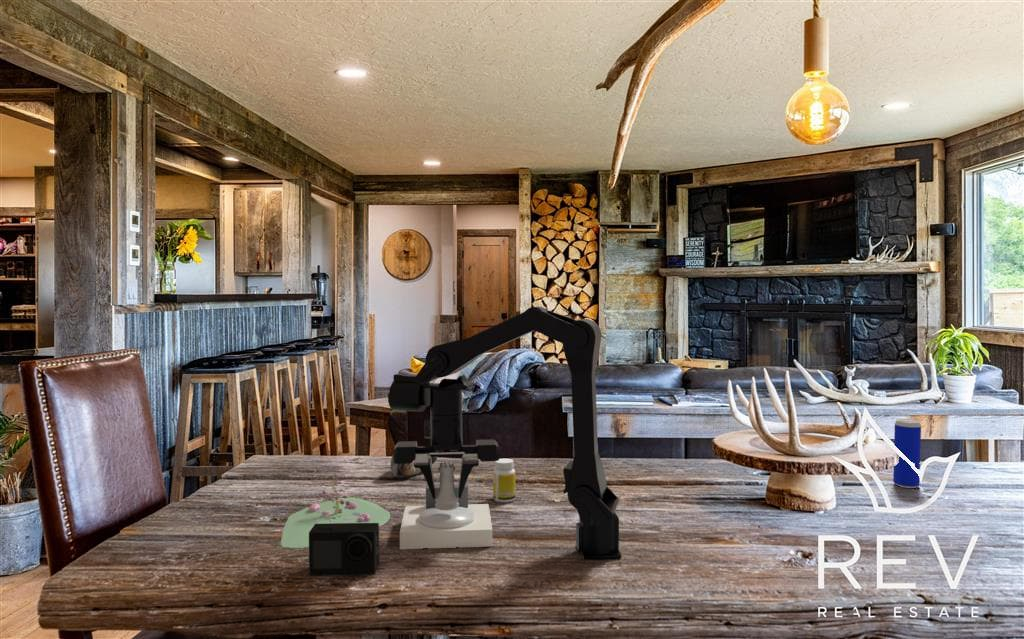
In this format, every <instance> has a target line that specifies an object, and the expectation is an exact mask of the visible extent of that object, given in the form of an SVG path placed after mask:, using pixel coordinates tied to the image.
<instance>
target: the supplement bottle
mask: <svg viewBox="0 0 1024 639" xmlns="http://www.w3.org/2000/svg"><path fill="white" fill-rule="evenodd" d="M514 467H515V464H514V460H513V459H511V458H499V460H498V461H494V469H493V471H492V484H493V485H492V487H493V488H492V493H493V494H492V496H493V497H492V498H493V501H494V502H497V503H511V502H514V501H515V500H516V469H515V468H514Z"/></svg>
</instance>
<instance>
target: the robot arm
mask: <svg viewBox="0 0 1024 639" xmlns="http://www.w3.org/2000/svg"><path fill="white" fill-rule="evenodd" d="M534 331H535V332H537V333H539V334H542V335H544V336H545V337H547V338H549V339H551V340H554V341H555V342H558V343H561V344H562V348H563V352H564V358H565V360H566V362H567V365H568V369H569V372H570V379H571V402H572V403H571V405H572V407H571V409H572V432H573V433H572V434H573V459H572V460H569V462H568V463H567V464H566V465H565V466H564V468H563V472H562V473H563V478H564V484H565V485H564V489H563V491H562V492H563V494H566V493H567V500H568V503H569V504H570V505H571V506H572V507H573V508H574V509H575V510H576V512H577V514H578V517H579V521H578V522H576V524H575V546H576V548H577V550H578V552H580V554H581V556H582V558H583V559H585V560H589V559H590V560H594V559H619V558H622V555H623V554H622V553H621V551H620V518H619V516H618V514H617V513H616V510H617V507H618V504H619V501H620V498H619V497H618V496H617V495H616V494H615V493H614V491H613V490H612V489H611V488H609V486H608V484H607V478H606V474H605V470H604V469H605V468H604V466H603V462H602V460H601V457H600V453H599V444H598V419H597V418H598V416H597V412H598V411H597V387H596V385H597V384H596V370H597V366H598V361H599V357H600V356H599V355H600V350H601V349H600V348H601V341H602V329H601V328H600V326H599V325H598V324H597V323H596V322H595V321H594V320H591V319H589V318H582V319H575V318H572V317H569V316H566V315H563V314H560V313H558V312H553V311H551V310H549V309H547V308H545V307H543V306H532V307H528V308H527V309H526V310H524V311H523V312H521V313H519V314H517V315H514V316H512V317H509V318H508V319H506V320H504V321H501V322H499V323H498V324H495V325H493V326H491V327H488V328H486V329H485V330H482V331H480V332H478V333H476V334H474V335H471V336H469V337H465V338H462V339H457V340H453V341H450V342H444V343H442V344H437V345H433V346H432V347H431V348H429V349H428V350H427V352H426V356H425V363H424V364H423V365H422V367H421V368H420V370H419V371H418V373H417V374H406V373H396V374H394V375H393V381H392V382H391V384H390V387H389V392H388V393H387V403H388V406H389V407H390V410H392V411H396V412H397V411H403V412H418V413H419V412H420V413H422V412H424V411H425V410H426V409H427V407H429V406H430V414H429V415H430V420H424V421H423V422H424V423H423V424H424V425H423V437H424V439H430V445H424V446H421V445H420V446H419V445H418V441H417V440H416V441H415V440H412V441H398V442H397V443H396V444H395V445H394V449H393V454H392V455H393V463H395V464H405V463H412V462H413V461H414V460H415V462H414V467H415V468H420V470H421V472H422V473H421V474H422V475H423V477H424V480H425V481H426V483H427V484H426V485H428V487H429V489H430V492H431V495H432V497H433V499H435V485H436V484H435V477H434V469H433V464H432V458H431V457H437V458H438V457H461V464H460V465H461V466H460V473H459V481H458V484H459V498H461V496H462V493H463V490H464V487H465V484H466V483H467V480H468V478H469V476H470V473H471V472H472V469H473V468H474V467H479V464H480V462H495V461H498V460H499V459H500V455H499V454H500V450H499V449H500V448H499V444H498V441H496V440H495V439H494V438H493V439H492V438H491V439H476V442H475V444H467V445H464V444H463V440H464V439H463V391H466V390H469V389H472V388H473V387H474V384H473V383H472V382H471V381H470V380H469V379H468V378H467V376H466V375H465V374H462V375H459V376H458V377H457V378H444V377H448V376H451V375H454V374H457V373H459V372H461V371H462V370H464V369H465V368H467V367H469V365H471V364H472V363H474V362H475V361H476V360H477V359H479V357H481V356H483V355H484V354H486V353H488V352H490V351H493V350H495V349H498V348H499V347H502V346H503V345H505V344H508V343H510V342H513V341H515V340H517V339H520V338H521V337H523V336H526V335H529V334H530V333H533V332H534ZM442 378H443V379H442ZM437 379H441V380H440V382H439V383H438V382H437V383H436V382H435V383H433V382H431V381H434V380H437ZM479 460H480V462H479Z"/></svg>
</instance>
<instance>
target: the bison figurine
mask: <svg viewBox="0 0 1024 639" xmlns="http://www.w3.org/2000/svg"><path fill="white" fill-rule="evenodd" d="M431 458H432V465H433V464H435V463H436V462H437V460H438V456H437V457H431ZM414 462H415V460H414V461H413V462H412V463H405V464H395V463H393V454H392V456H391V459H390V470H391V473H392V475H393V476H394V477H395V476H396V477H399V476H405V477H406V476H407V477H410V476H416V475H418V474H422V472H421V470H420V468H415V467H414Z"/></svg>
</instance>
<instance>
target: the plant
mask: <svg viewBox="0 0 1024 639" xmlns="http://www.w3.org/2000/svg"><path fill="white" fill-rule="evenodd" d="M333 476H334V478H333V479H332V480H333V482H332V484H330V487H331V486H332V487H331V489H332V490H334V491H333V492H330V494H328V493H327V492H326V491H325V490H322V493H318V497H326V498H329V497H330V498H329V500H328V501H324V502H321V503H311V504H310V505H309V506H307V507H305V508H303V509H301V510H299V511H297V512H294V513H292V514H291V515H288V518H287V521H286V523H285V525H284V526H283V529H282V536H281V538H280V540H281V541H280V546H281V545H282V547H281V548H284V549H285V548H286V549H304V548H305V547H306V548H309V532H310V530H311V529H312V528H313V526H314V525H315V524H328V523H379V527H381V526H383V525H384V524H386V523H387V522H388V521H389V520H390V518H391V513H390V511H387V510H386V509H385V508H383V507H382V506H380V505H379V504H376V503H373V502H371V501H368V500H366V499H362V498H358V497H352V496H351V497H349V496H348V495H342V497H339V495H340V493H341V492H342V491H343V490H344V489H343V488H341V489H337V487H335V486H337V485H341V484H342V482H341V481H342V480H341V479H338V478H336V477H337V476H338V475H337V474H333ZM336 481H338V482H336ZM338 491H339V492H340V493H339V492H338ZM334 494H335V495H334Z"/></svg>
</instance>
